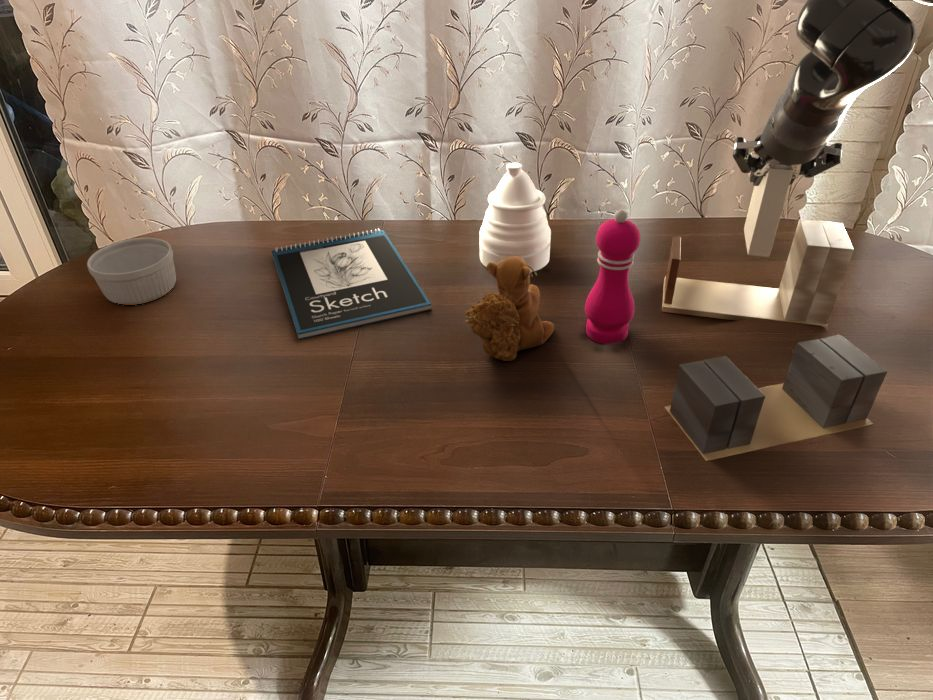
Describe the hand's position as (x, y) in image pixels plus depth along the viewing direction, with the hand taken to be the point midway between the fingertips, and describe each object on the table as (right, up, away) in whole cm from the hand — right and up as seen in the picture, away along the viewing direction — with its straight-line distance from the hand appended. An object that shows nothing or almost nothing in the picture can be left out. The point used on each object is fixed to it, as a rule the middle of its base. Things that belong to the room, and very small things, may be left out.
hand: (769, 180), depth 95 cm
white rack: (0, -17, +10) cm, 20 cm away
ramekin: (-100, -15, +19) cm, 103 cm away
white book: (0, -8, +4) cm, 9 cm away
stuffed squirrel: (-38, -24, +3) cm, 45 cm away
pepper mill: (-23, -22, +5) cm, 32 cm away
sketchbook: (-65, -13, +20) cm, 69 cm away
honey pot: (-35, -8, +25) cm, 44 cm away
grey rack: (-6, -34, -12) cm, 36 cm away
